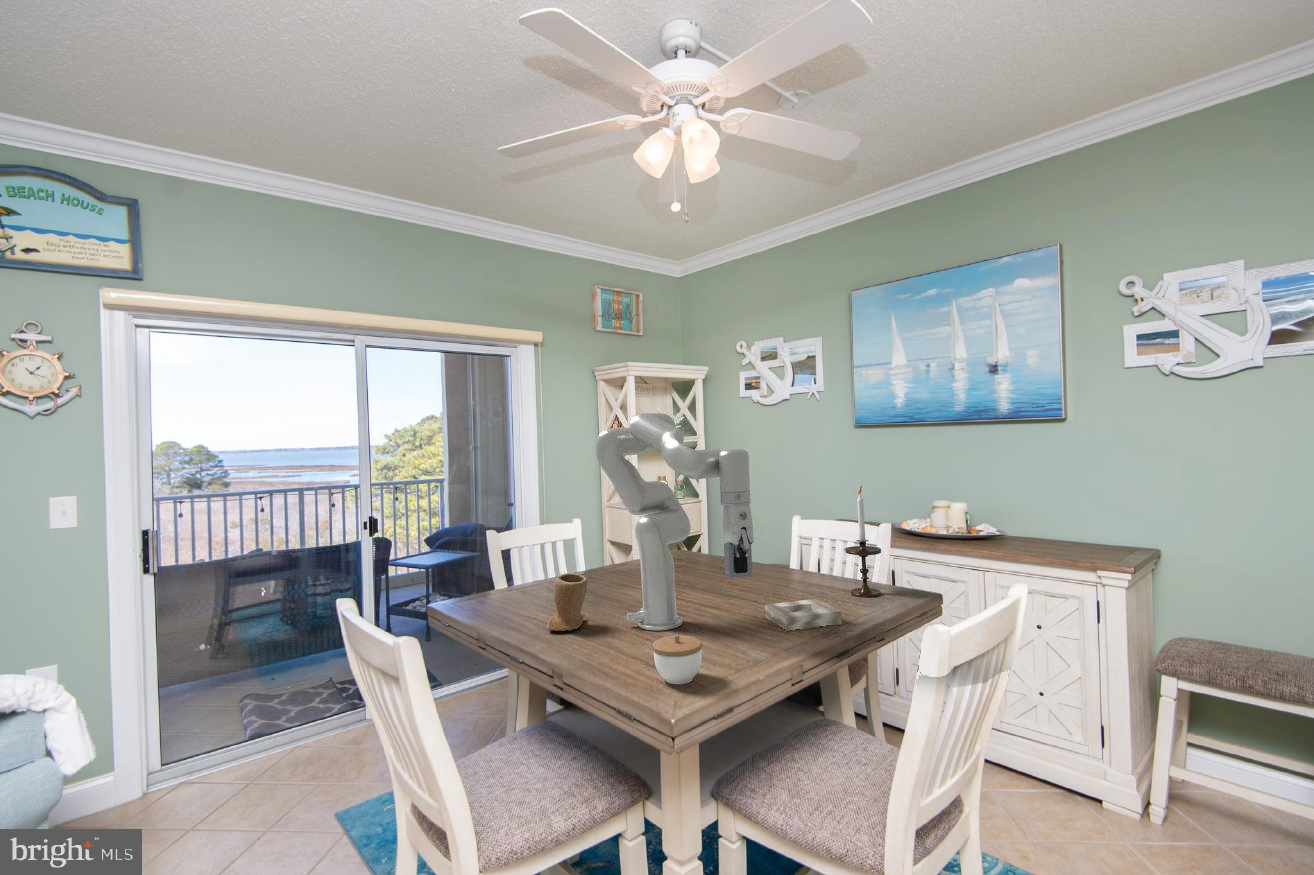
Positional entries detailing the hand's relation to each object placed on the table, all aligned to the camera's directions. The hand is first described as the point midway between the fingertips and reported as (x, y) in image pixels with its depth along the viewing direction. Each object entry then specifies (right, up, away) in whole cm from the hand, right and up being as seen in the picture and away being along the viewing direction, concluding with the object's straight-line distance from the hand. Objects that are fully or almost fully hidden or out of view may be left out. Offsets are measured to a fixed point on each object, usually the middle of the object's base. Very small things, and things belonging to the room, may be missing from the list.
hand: (738, 570), depth 148 cm
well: (+20, -18, +16) cm, 31 cm away
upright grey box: (0, -1, 0) cm, 1 cm away
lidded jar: (-16, -19, -21) cm, 32 cm away
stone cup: (-46, -22, +23) cm, 55 cm away
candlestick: (+46, -17, +40) cm, 64 cm away
